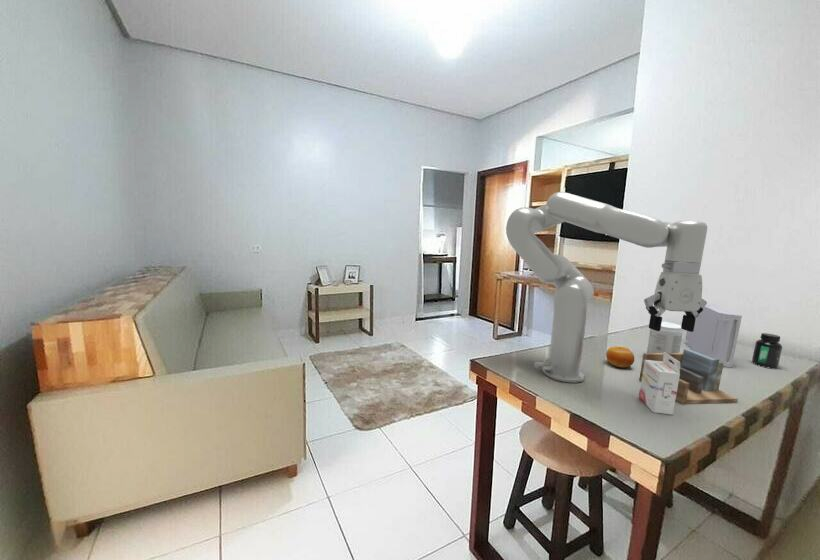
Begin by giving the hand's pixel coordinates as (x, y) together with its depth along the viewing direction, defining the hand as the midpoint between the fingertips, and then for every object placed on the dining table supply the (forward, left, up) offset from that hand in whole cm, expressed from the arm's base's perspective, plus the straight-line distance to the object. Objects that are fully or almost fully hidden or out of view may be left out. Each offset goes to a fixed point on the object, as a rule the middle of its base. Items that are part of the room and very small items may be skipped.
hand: (670, 330), depth 90 cm
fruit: (+8, +25, -22) cm, 34 cm away
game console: (+55, +35, -22) cm, 69 cm away
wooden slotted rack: (+15, +6, -21) cm, 27 cm away
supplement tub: (+28, +28, -21) cm, 45 cm away
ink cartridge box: (-3, -2, -22) cm, 22 cm away
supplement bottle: (+68, +24, -21) cm, 75 cm away
